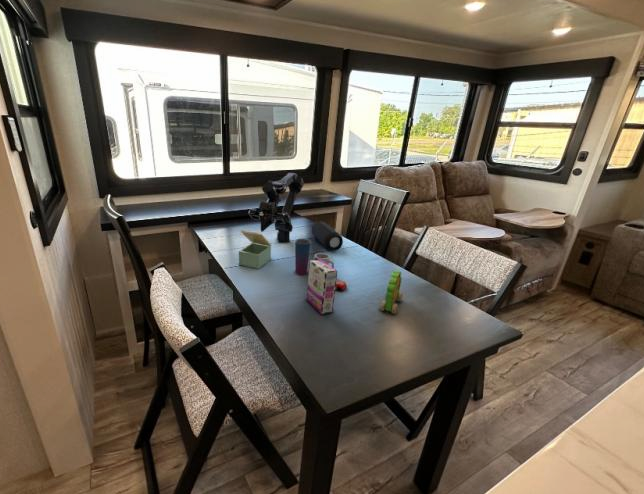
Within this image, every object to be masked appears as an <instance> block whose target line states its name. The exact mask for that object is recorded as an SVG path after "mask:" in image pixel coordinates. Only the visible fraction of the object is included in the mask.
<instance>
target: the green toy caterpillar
mask: <svg viewBox="0 0 644 494" xmlns="http://www.w3.org/2000/svg"><path fill="white" fill-rule="evenodd" d="M402 278H403V277H402V272H401V271H400V270H396V269H393V271H392V273H391V276H390V278H389V281H388V285H387V289H386V294H385V300H382V301H381V304H380V307H379V308H380V311H382V312H384V311H387V312H391V314H393V315H396V313H397V310H398V304H397V303H395V302H396V300H397V302H401V301H402V299H403V295H404V293H403V292H402V291H400V289H401V284H402Z"/></svg>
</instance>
